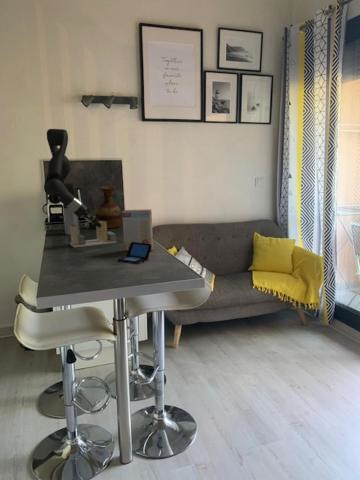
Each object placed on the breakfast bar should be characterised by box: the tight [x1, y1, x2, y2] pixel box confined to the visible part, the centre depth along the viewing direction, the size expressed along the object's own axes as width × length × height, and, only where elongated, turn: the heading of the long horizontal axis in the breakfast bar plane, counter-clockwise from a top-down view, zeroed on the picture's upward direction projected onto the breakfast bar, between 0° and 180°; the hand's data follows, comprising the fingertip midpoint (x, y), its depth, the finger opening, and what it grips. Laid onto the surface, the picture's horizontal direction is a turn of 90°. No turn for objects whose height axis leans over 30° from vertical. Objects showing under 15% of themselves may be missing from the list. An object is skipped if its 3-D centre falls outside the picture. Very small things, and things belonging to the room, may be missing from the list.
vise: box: [69, 230, 118, 248], centre depth 218 cm, size 12×24×5 cm, turn 116°
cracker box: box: [121, 208, 154, 253], centre depth 194 cm, size 14×6×21 cm, turn 84°
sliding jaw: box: [70, 225, 86, 245], centre depth 214 cm, size 12×6×10 cm, turn 26°
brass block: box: [95, 221, 108, 242], centre depth 219 cm, size 5×5×11 cm
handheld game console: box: [117, 242, 152, 264], centre depth 175 cm, size 12×11×7 cm
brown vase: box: [94, 185, 123, 229], centre depth 276 cm, size 20×20×30 cm
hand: (98, 225), depth 218 cm, fingers open, 8 cm apart
